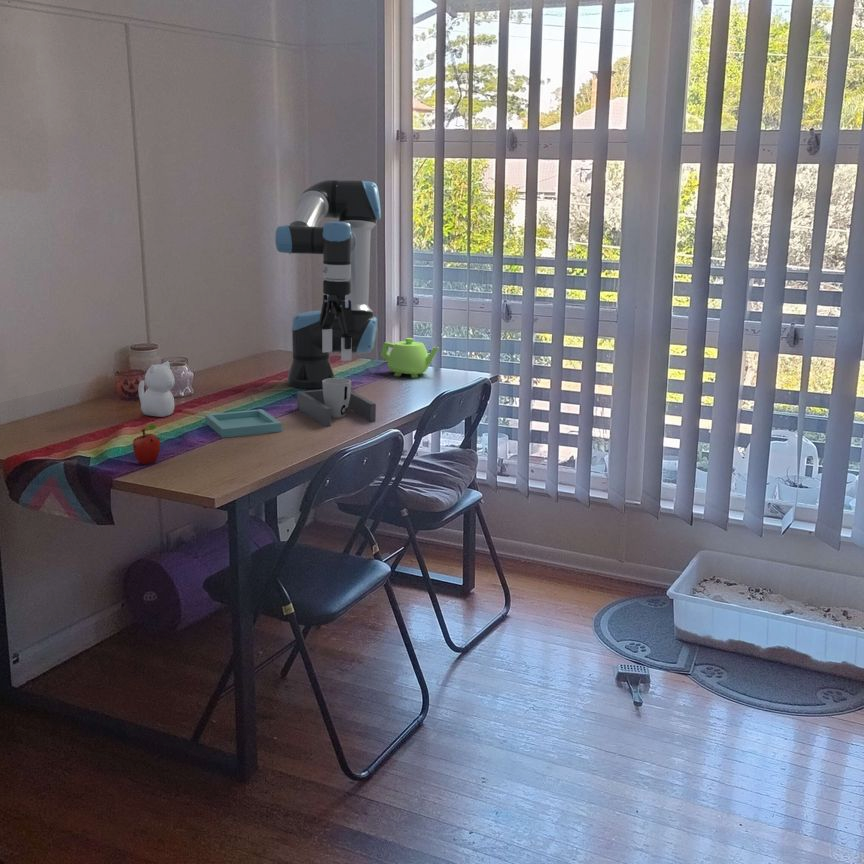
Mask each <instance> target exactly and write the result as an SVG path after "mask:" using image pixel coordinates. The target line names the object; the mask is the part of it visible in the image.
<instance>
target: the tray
mask: <svg viewBox="0 0 864 864" xmlns="http://www.w3.org/2000/svg"><path fill="white" fill-rule="evenodd" d="M204 415H205V416H204V419H205V424H206V425H208V427H210V428H211V429H212V430H213V431H214V432H216V433H217V434H218V435H219V436H220V437H221V438H222V439H223V438H233V437H242V436H243V437H244V436H251V435H259V434H269V433H270V434H271V433H280V432H282V431H283V427H282V425H283V423H282V422H281V421H279V420H278V419H277V418H275V417H274V416H272V415H271V414H270V413H268V412H267V411H266V410H264V409H262V408H261V409H260V408H259V409H251V410H250V409H249V410H238V411H229V412H219V413H207V414H204Z"/></svg>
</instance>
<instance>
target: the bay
mask: <svg viewBox="0 0 864 864" xmlns="http://www.w3.org/2000/svg"><path fill="white" fill-rule="evenodd" d="M296 404H297V405H296V406H297V407H296V409H297V410H299V411H301V412H302V413H304V414H305V415H307V416H308V417H310V418H311V419H313V420H315V421H316V422H318V423H319V424H321V425H322V426H323V427H331V425H332V423H331V422H332V421H331V420H332V417H331V408H329V407H328V406H326V405H325V403H324V397H323V388H321V389H313V390H311V389H310V390H302V391H297V392H296ZM376 406H377V404H376V403H375V402H373V401H371V400H370V399H367V398H366V397H363V396H362V395H360V394H359V393H356V392H354V391H352V390H351V392H350V400H349V406H348V410H349V411H351V412H352V413H354V414H356V415H358V416H360V417H362V419H365V420H367V421H368V422H371V423H373V422H376V421H377V418H376V415H377V413H376V412H377V411H376V410H377V409H376V408H377V407H376Z"/></svg>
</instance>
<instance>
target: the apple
mask: <svg viewBox="0 0 864 864" xmlns="http://www.w3.org/2000/svg"><path fill="white" fill-rule="evenodd" d="M155 429H157V427H156V425H155V424H154V423H149V424H148V425H147V426H146V427H144V428H141V432H142V435H140V436H136V437H135V438H134V439H133V440H132V449H133V453H134V456H135V458H136V460H137V462H139V463H140V464H141V465H149V464H154V463H155V462H156V461H157V460H158V457H159V455H160V451H161V441H160V438H159V437H158V436H157V435H156V434H153V433H147V434H146V430H150V431H151V430H155Z"/></svg>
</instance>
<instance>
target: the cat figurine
mask: <svg viewBox="0 0 864 864" xmlns="http://www.w3.org/2000/svg"><path fill="white" fill-rule="evenodd" d="M170 367H171V365H170V361H169V360H166V361H164V362H163V363H161V364H158V363H157V364H151V365H150V367H148V369H147V370H146V372H145V376H144V380H142V379H141V380H140V382H139V384H138V391H137V392H138V398H139V402H140V410H141V411H142V414H144V415H145V416H149V417H150V416H151V417H158V418H164V417H168V416H170V415H172V414H173V413H174V411H175V397H174V395H173V393H172V391H171V390H172V389H173V388H174V386H175V383H176V382H175V381H176V380H175V376H174V374H173V371H172V370H171V368H170ZM145 385H146V387H147V389H146V390H145Z"/></svg>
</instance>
